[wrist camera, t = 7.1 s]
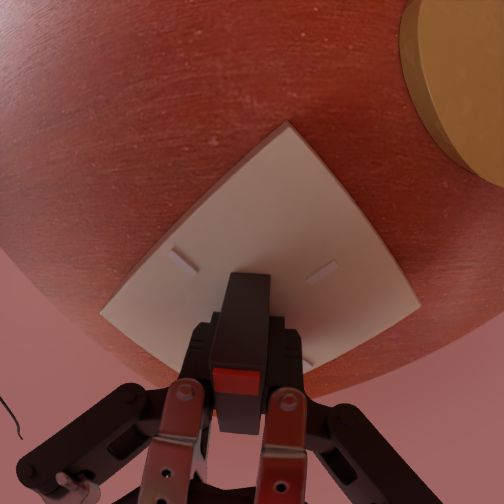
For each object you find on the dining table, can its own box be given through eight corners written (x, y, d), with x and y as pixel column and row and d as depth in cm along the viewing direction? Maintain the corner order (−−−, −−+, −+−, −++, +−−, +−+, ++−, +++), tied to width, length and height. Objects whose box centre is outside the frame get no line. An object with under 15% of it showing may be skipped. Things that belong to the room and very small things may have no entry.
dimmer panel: (235, 369, 19) (230, 406, 17) (120, 281, 16) (96, 315, 13) (403, 271, 14) (423, 308, 11) (286, 119, 11) (289, 125, 8)
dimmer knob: (264, 355, 14) (258, 440, 10) (233, 353, 14) (218, 436, 10) (271, 274, 11) (265, 374, 7) (230, 271, 11) (206, 368, 7)
